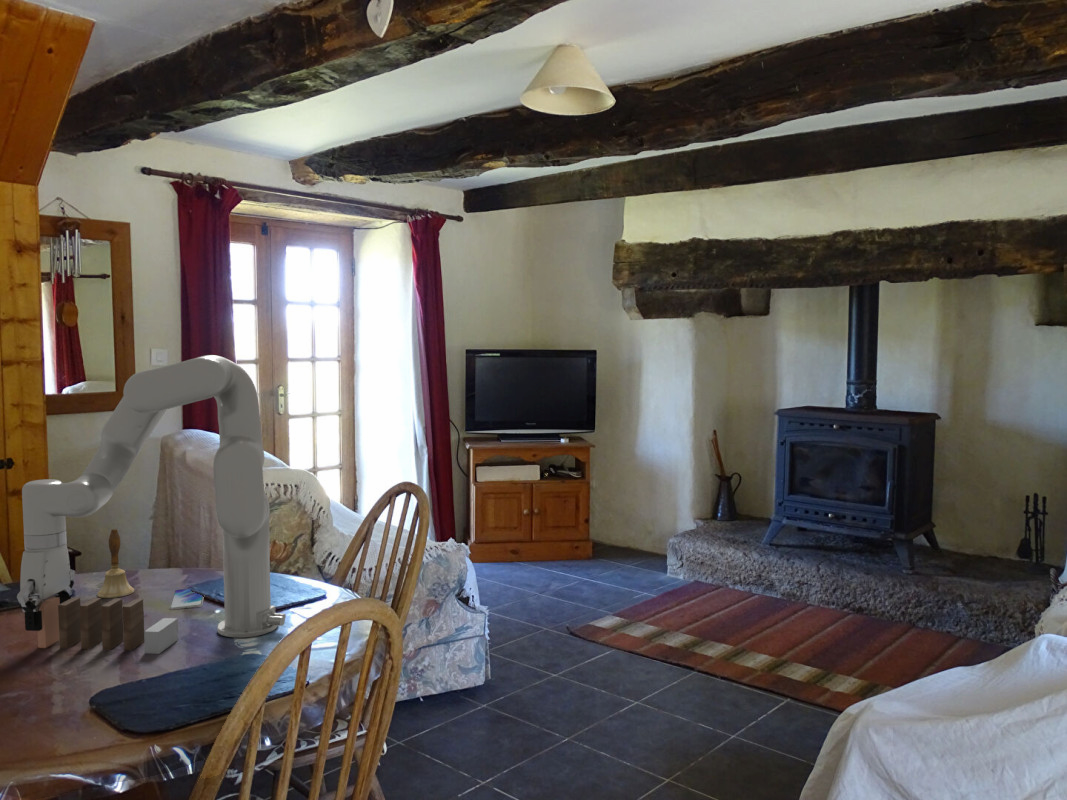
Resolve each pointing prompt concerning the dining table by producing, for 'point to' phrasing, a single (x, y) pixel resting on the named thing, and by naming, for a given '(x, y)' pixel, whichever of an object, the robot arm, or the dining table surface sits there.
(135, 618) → the domino
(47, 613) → the domino
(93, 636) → the domino
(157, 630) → the block
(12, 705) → the dining table surface
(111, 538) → the hand bell
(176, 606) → the smartphone
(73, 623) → the domino
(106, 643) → the domino
